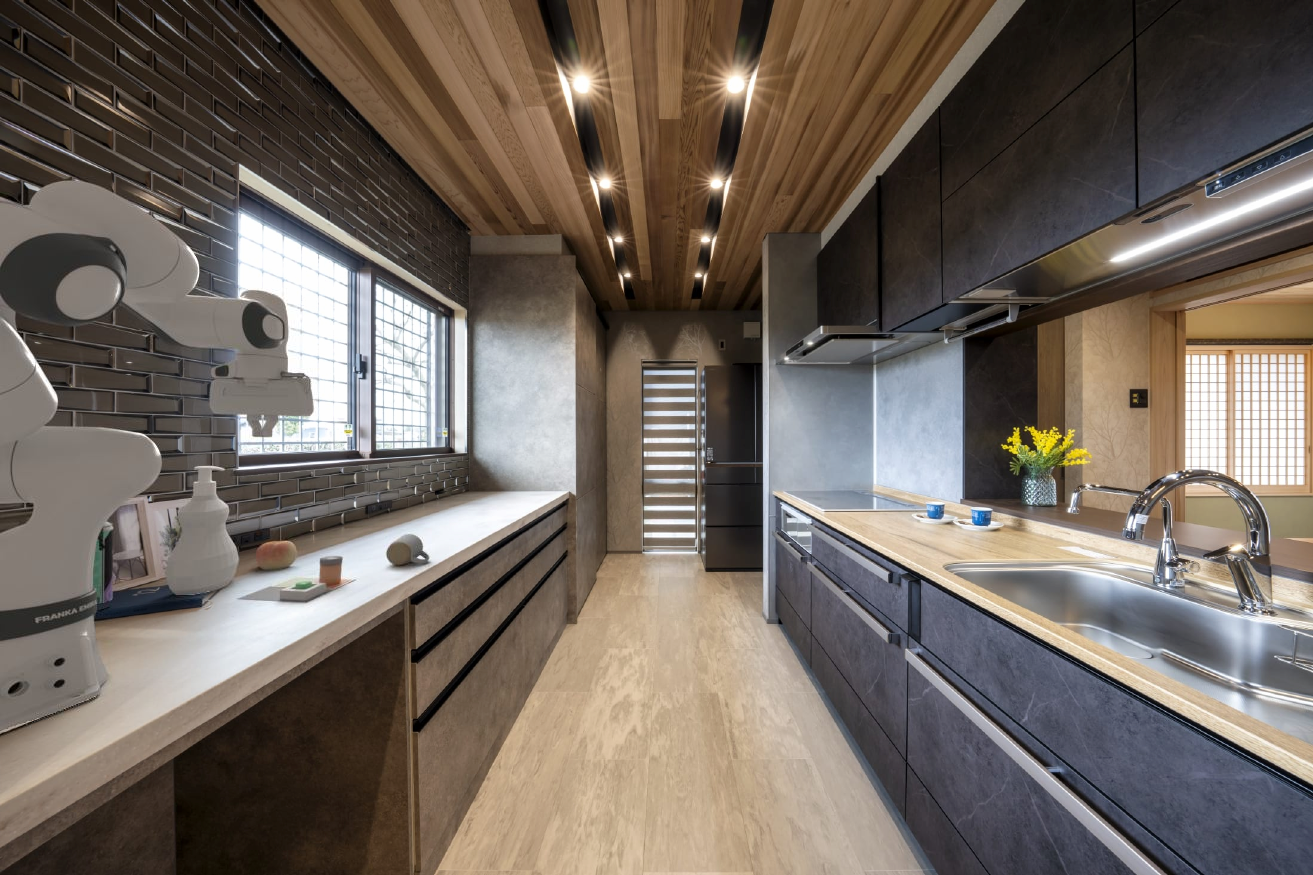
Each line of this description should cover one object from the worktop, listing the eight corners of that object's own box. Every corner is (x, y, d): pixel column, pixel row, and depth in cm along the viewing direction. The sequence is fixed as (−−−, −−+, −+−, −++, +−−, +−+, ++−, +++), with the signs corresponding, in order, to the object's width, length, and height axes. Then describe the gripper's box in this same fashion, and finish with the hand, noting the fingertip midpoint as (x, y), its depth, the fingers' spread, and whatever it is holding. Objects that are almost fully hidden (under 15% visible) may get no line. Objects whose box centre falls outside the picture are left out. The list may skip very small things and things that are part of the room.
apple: (255, 577, 125) (255, 546, 124) (255, 568, 131) (256, 539, 131) (297, 571, 130) (297, 542, 130) (295, 563, 137) (296, 535, 137)
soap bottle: (215, 602, 107) (216, 469, 106) (147, 607, 103) (149, 469, 102) (250, 579, 123) (252, 463, 122) (193, 582, 119) (194, 463, 118)
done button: (304, 596, 108) (304, 585, 108) (291, 595, 108) (292, 585, 108) (314, 592, 111) (315, 581, 111) (302, 591, 111) (302, 580, 111)
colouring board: (306, 607, 105) (306, 593, 105) (236, 604, 106) (236, 589, 106) (356, 584, 121) (356, 571, 121) (295, 581, 122) (295, 568, 122)
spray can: (120, 604, 104) (120, 512, 104) (87, 614, 99) (88, 516, 98) (97, 603, 105) (98, 510, 104) (64, 612, 99) (65, 515, 99)
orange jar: (329, 586, 115) (330, 561, 115) (313, 584, 116) (315, 559, 116) (345, 581, 119) (347, 557, 119) (330, 579, 120) (332, 555, 120)
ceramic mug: (383, 566, 137) (384, 539, 137) (396, 558, 145) (397, 533, 145) (422, 567, 138) (423, 540, 138) (433, 559, 146) (434, 534, 146)
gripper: (321, 374, 104) (320, 438, 105) (231, 372, 106) (230, 435, 106) (298, 370, 98) (297, 438, 98) (203, 368, 99) (202, 436, 99)
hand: (262, 437), depth 102 cm, fingers closed
